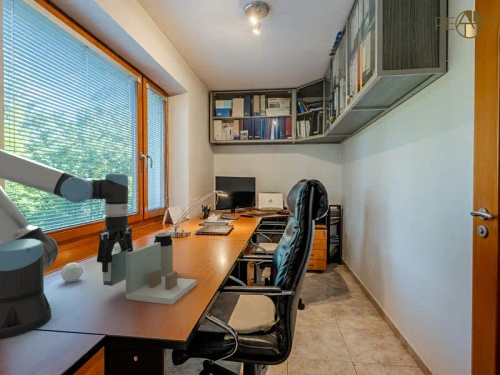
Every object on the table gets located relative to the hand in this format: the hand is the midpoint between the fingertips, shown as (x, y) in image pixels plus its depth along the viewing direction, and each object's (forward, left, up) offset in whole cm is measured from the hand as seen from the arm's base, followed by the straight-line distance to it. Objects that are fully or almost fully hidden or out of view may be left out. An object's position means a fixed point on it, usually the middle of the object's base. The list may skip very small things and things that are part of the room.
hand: (116, 276), depth 98 cm
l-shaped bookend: (+5, -16, -6) cm, 18 cm away
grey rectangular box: (0, 0, -2) cm, 2 cm away
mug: (+26, +24, -6) cm, 36 cm away
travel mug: (+22, -5, -6) cm, 24 cm away
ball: (+5, +27, -6) cm, 28 cm away
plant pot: (+43, +38, -6) cm, 58 cm away
